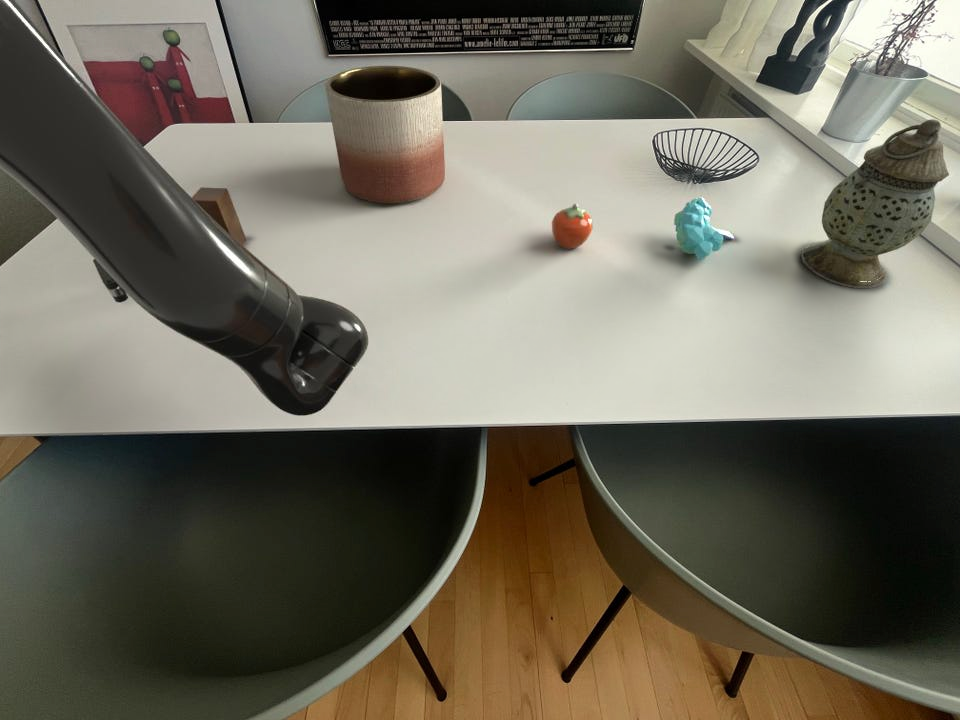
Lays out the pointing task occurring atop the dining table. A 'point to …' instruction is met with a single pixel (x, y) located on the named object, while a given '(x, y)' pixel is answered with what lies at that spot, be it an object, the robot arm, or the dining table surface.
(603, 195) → the dining table surface
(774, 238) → the dining table surface
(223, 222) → the block far
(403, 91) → the planter
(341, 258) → the dining table surface
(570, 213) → the tomato
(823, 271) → the lantern
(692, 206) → the turquoise faceted lumpy piece
